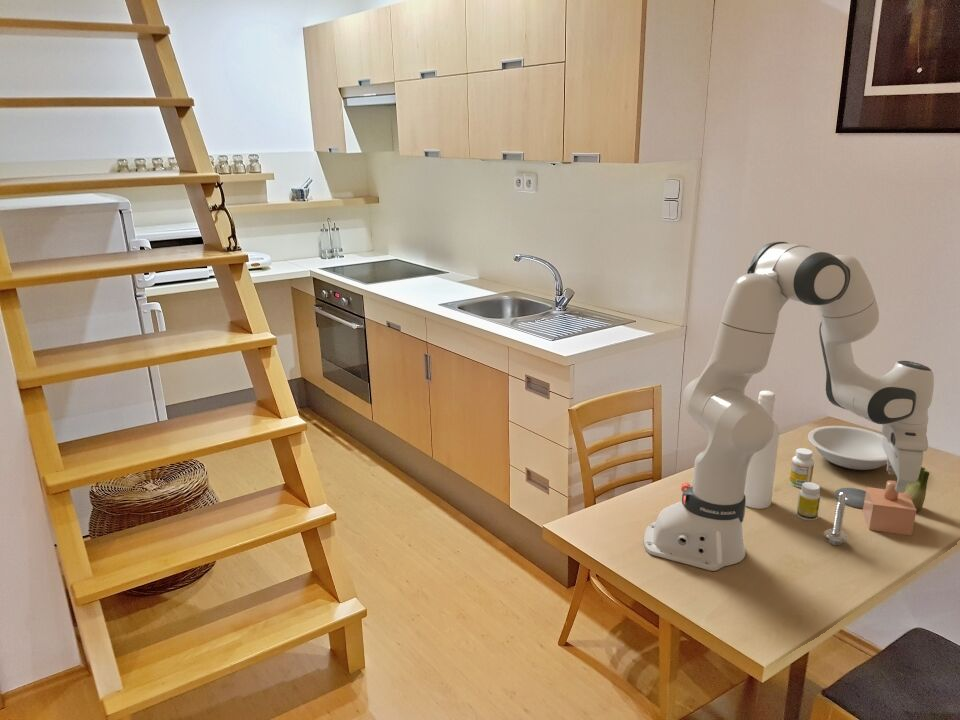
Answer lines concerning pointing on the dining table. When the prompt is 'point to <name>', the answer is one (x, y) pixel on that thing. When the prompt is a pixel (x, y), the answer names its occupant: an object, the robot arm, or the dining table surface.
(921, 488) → the fennel bulb
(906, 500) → the terracotta cover
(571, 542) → the dining table surface
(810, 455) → the supplement bottle
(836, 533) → the screw
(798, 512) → the supplement bottle
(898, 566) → the dining table surface
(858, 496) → the gray glossy dome
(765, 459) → the bottle
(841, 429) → the soup bowl
